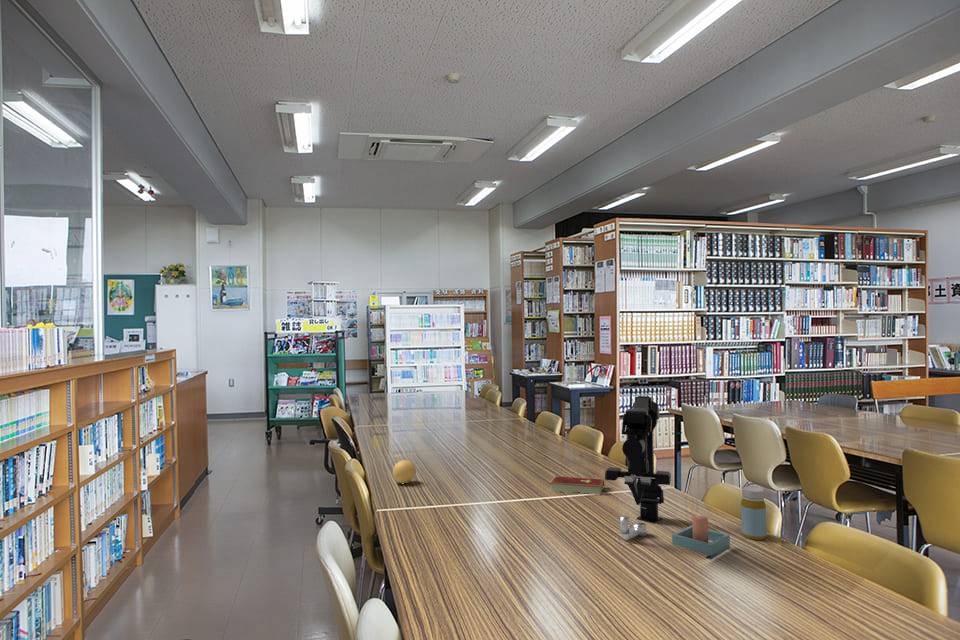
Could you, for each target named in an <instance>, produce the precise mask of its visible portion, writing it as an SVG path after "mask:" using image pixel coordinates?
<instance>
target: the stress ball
mask: <svg viewBox="0 0 960 640" xmlns="http://www.w3.org/2000/svg"><path fill="white" fill-rule="evenodd" d="M416 472H417V469H416V467H415V465H414V463H413V462H412V461H410V460H405V459H403V460H399V461H398V462H397V463H395V465H394V466H393V468H392V476H393V478H394V480H395V481H396V482H398V483H400V484H401V483H407V484H408V483H410V482H411V481H412V480H413V479H414V477H415V475H416Z"/></svg>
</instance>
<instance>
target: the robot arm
mask: <svg viewBox="0 0 960 640" xmlns="http://www.w3.org/2000/svg"><path fill="white" fill-rule="evenodd" d="M634 399H635V401H634V402H633V403H632V408H628V409H626V411H625V412H624V413H623V414H622V424H621V425H622V426H621V434H622V435H624V436H625V435H626V439H625V441H624V442H623V444H622V448H621V449H622V453H623V455H624V456H625V462H624V463H625V465H624V466H625V467H626V468H627V471H625V470H621V468H620V467H614V466H612V467H611V466H609V467H608V468H607V469H606V470H605V471H604V480H606V481H616V480H618V478H621V479H622V478H624V482H623V484H625V485H627V487H628V488H629V490H630V492H631V494H632V497H633V499H634V502H635V503H636V505H637V506H640V507H639V511H640V513H639V514H640V515H639V516H637V517H636V520H640V521H643V522H647V523H651V524H654V523H657V522H659V521H662V520H663V517H661V516H659V505H662V504H665V496H664V490H663V488H662V486H661V485H663V486H670V485H671V482H672V473H671V472H670V471H665V470H656V472H655V457H654V456H655V455H654V450H655V449H654V430H655V429H656V427H657V424H658V423H659V422H658V421H659V420H660V407H659V404H658V403H656V402H655V401H654V400H653V399H652V396H649V395H638V396H635V398H634Z"/></svg>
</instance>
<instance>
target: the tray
mask: <svg viewBox="0 0 960 640" xmlns="http://www.w3.org/2000/svg"><path fill="white" fill-rule="evenodd" d="M671 540H672V541H671V544H672V545H674V546H677V547H681V548H685V549H690V550H692V551H695V552H699V553H702V554H706V555H707V556H706V559H708V558H709V560H712V558H713V559H714V558H716V557H718V556H720V555H721V554H723V553H724V552H727V551H728V550H730V549H731V542H730V540H731V538H730V534H727V533H723V532H720V531H716V530H713V529H712V530H711V529H708V541H711V542H708V543H706V542H702V541H699V540H695V539H693V532H692V524H691V525H689V526H688V527H685V528H682V529H681V530H679V531H677V532H675V533H673V534H671Z"/></svg>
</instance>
